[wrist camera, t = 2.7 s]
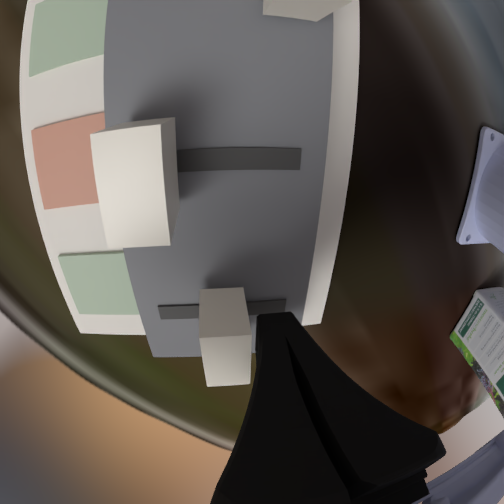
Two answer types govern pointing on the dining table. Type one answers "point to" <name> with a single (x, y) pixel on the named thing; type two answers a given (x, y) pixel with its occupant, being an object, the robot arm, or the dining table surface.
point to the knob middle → (137, 182)
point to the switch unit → (192, 154)
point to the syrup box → (484, 340)
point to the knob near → (302, 8)
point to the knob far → (225, 336)
